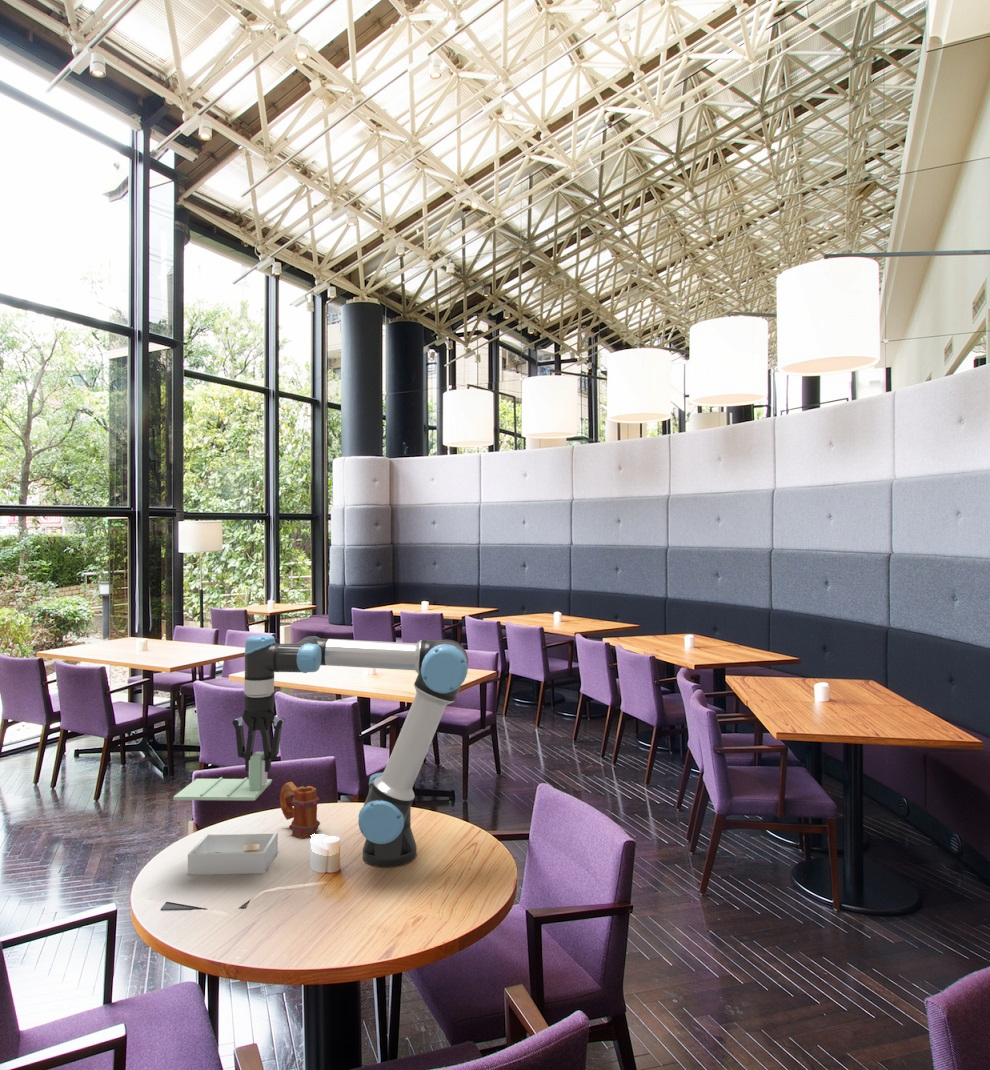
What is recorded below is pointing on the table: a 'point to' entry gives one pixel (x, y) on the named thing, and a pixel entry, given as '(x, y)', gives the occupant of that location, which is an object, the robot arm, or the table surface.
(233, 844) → the tub
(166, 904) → the mat
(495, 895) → the table surface
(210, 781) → the lid
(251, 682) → the robot arm
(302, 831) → the mug
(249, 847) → the part
